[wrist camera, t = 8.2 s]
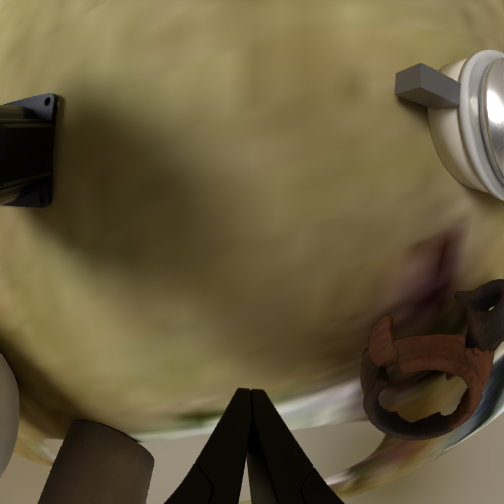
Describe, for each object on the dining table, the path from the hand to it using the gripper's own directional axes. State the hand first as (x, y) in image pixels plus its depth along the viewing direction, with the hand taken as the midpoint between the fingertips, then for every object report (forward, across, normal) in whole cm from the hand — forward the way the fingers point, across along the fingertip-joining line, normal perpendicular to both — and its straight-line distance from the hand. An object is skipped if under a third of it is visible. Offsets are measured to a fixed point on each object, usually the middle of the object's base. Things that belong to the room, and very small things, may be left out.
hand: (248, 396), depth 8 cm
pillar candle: (+7, +12, +21) cm, 25 cm away
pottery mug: (+8, -13, +2) cm, 15 cm away
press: (+7, -11, -12) cm, 18 cm away
